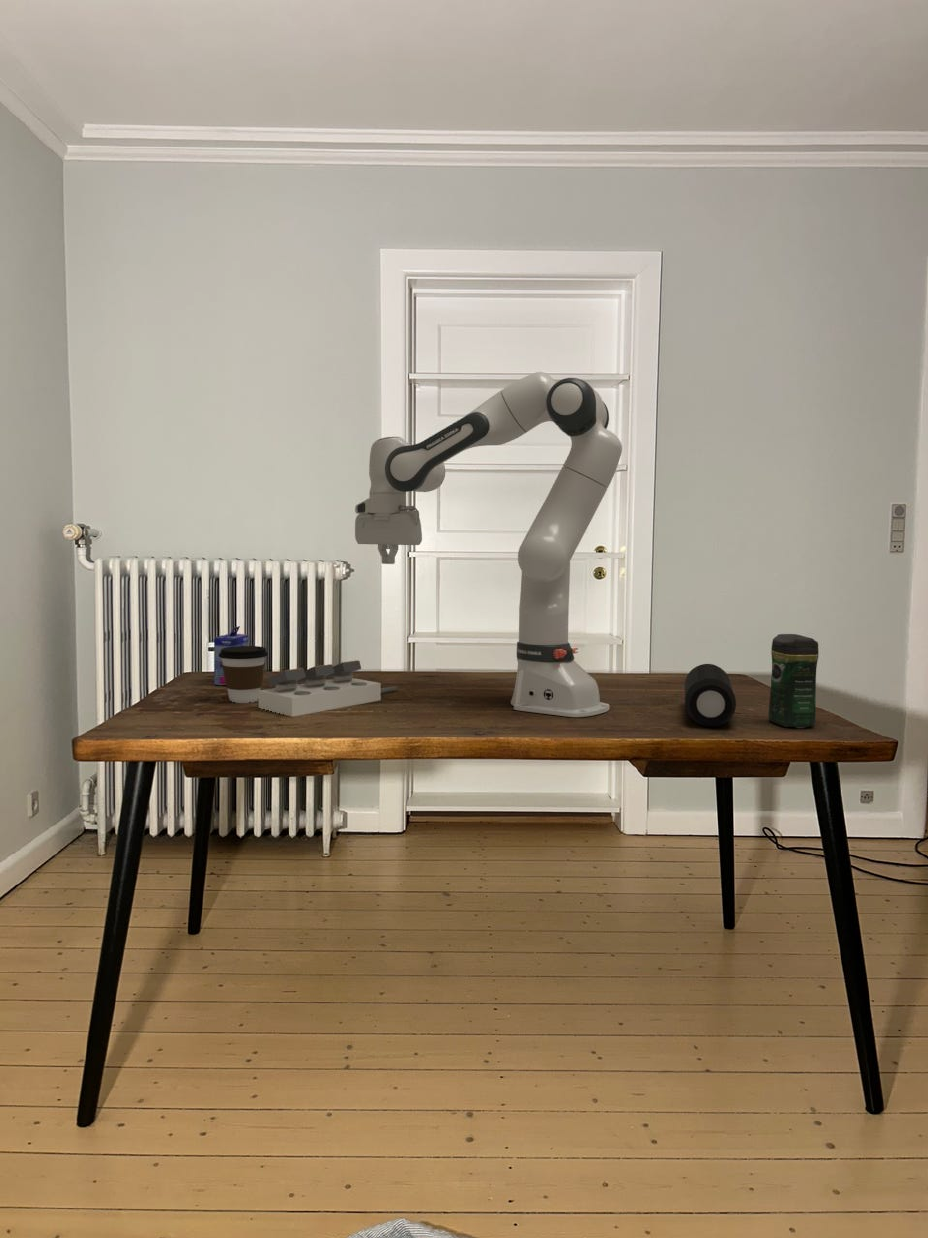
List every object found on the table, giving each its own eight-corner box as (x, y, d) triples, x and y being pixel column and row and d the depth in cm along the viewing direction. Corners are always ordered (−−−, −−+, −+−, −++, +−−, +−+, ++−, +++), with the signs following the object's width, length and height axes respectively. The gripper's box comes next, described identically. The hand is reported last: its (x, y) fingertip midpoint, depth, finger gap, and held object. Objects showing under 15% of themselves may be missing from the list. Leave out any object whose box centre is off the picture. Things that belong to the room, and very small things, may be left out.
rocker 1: (305, 677, 192) (303, 667, 192) (286, 679, 188) (284, 670, 189) (287, 684, 197) (285, 674, 197) (268, 687, 193) (266, 677, 193)
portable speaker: (735, 731, 175) (737, 682, 174) (684, 728, 177) (685, 679, 176) (728, 706, 199) (730, 663, 198) (683, 704, 202) (685, 661, 201)
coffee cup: (266, 695, 208) (265, 644, 207) (271, 703, 198) (270, 651, 197) (218, 697, 205) (217, 646, 204) (221, 706, 195) (219, 652, 193)
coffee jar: (821, 729, 177) (826, 637, 175) (783, 729, 176) (788, 637, 174) (798, 718, 186) (802, 631, 184) (762, 719, 186) (766, 631, 184)
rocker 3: (361, 668, 204) (359, 659, 204) (344, 671, 200) (342, 662, 200) (343, 675, 208) (340, 666, 209) (326, 678, 205) (324, 669, 205)
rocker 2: (334, 673, 198) (332, 663, 198) (316, 675, 194) (314, 666, 194) (316, 679, 203) (314, 670, 203) (298, 682, 199) (296, 673, 199)
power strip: (413, 694, 211) (413, 670, 210) (292, 716, 185) (291, 690, 184) (379, 687, 219) (379, 665, 218) (258, 708, 193) (258, 683, 192)
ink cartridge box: (234, 686, 219) (232, 629, 218) (213, 686, 220) (211, 628, 218) (250, 680, 229) (249, 624, 227) (229, 679, 230) (228, 624, 228)
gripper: (428, 505, 206) (428, 564, 208) (369, 506, 220) (370, 562, 222) (408, 505, 202) (408, 565, 203) (350, 506, 215) (350, 562, 217)
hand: (388, 563), depth 212 cm, fingers closed
